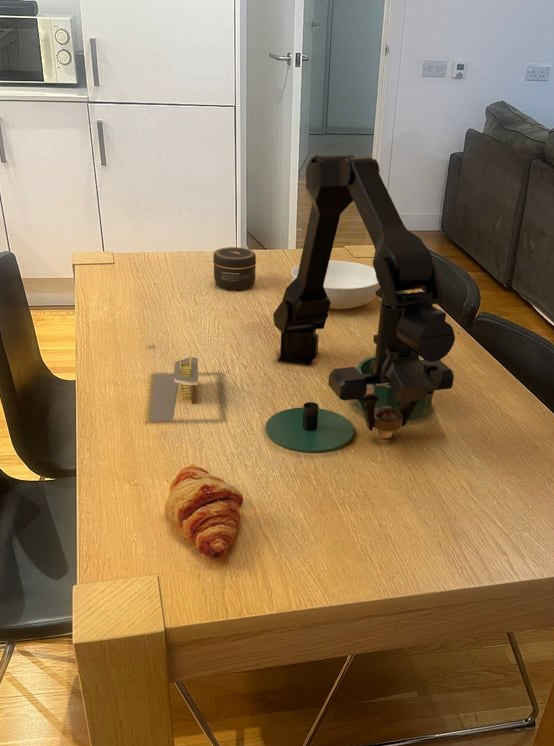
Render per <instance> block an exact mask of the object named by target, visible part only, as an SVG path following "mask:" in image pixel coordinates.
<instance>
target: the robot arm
mask: <svg viewBox="0 0 554 746" xmlns="http://www.w3.org/2000/svg"><path fill="white" fill-rule="evenodd" d="M305 191H306V192H307V195H308V197H309V199H310V202H311V207H310V213H309V216H308V223H307V227H306V232H305V237H304V241H303V245H302V252H301V256H300V261H299V264H300V266H299V271H298V276H297V278H296V279H295V280H294V281H293V282H292V281H291V283H289V285H287V286H286V288H285V290H284V294H283V296H282V300H281V302H280V304H279V305H278V306H277V307H276V309H275V311H274V312H273V314H272V316H273V317H272V319H273V324H274V327H275V328H277V329H278V330H279V331H280V353H279V356H278V357H277V361H278V362H280V363H282V362H283V363H289V364H296V365H306V366H311V365H312V364H313V361H314V360H315V359H316V358H317V356H318V354H319V338H320V337H319V333H317V330H324V329H325V325H326V322H327V318H329V311H330V308H329V307H330V304H331V302H330V300H329V298H328V296H327V294H326V291H325V289H324V281H325V277H326V273H327V269H328V264H329V260H331V255H332V251H333V248H334V243H335V239H336V235H337V230H338V226H339V221H340V218H341V215H342V213H343V212H344V211H345V210H346V209H347V208H348V207H349V206H350V204H352V202H353V203H354V204H355V207H356V209H357V212H358V213H359V216H360V218H361V220H362V222H363V224H364V227H365V229H366V231H367V233H368V235H369V238H370V239H371V242H372V245H373V247H374V254H373V260H372V267H373V268H374V269H375V272H376V278H377V281H378V283H379V285H380V288H379V289H378V290H377V291H376V292H375V294H376V296H375V297H377V298H379V299H380V309H379V317H378V326H377V334H373V343H374V344H375V345H376V347H375V355H374V356H375V360H371V367H372V368H373V370H374V373H370V374H360V373H359V371H358V370H357V369H356V367H355V366H347V367H335V368H333V369H332V370H331V371H330V373H329V374H328V382H327V385H328V386H329V388H330V389H331V390H332V391H333V392H334V394H335V395H336V397H338V399H339V400H341V401H354V399H357V400H358V401H359V402H360V405H361V408H362V411H363V412H362V411H361V412H362V414H363V418H364V421H365V424H366V427H367V429H368V430H369V431H370V432H371V431H373V429H374V427H373V425H374V413H375V403H376V402H377V401H378V400H379V398H378V397H377V396H376V395H375V394H374V391H375V386H380V385H390V387H391V389H392V391H393V393H394V397H395V399H396V400H397V401H398V402H400V407H399V411H400V412H401V413H402V414H403V421H402V426H401V428H402V427H405V426H406V424H407V422H408V421H409V420H408V419H409V417H410V415H411V413H412V411H413V410H414V408H415V406H416V405H417V403H418V402H419V401H422V400H424V399H425V397H426V396H427V395H431V394H433V395H434V392H435V391H441V390H449V389H452V388H453V386H454V381H455V375H454V374H455V373H454V371H453V370H452V369H451V368H450V367H448V365H446V363H444V361H442V359H444V358H445V357H446V356H447V355H448V354H449V353H450V352H451V351H452V349H453V347H454V344H455V341H456V336H455V331H454V328H453V326H452V325H451V324H450V323H449V322H447V321H446V319H447V313H446V312H445V311H444V310H442V309H438V308H436V307H434V306H433V305H439V304H440V305H441V304H443V297H442V291H443V289H442V286H441V282H440V280H439V277H438V273H437V269H436V264H435V261H434V258H433V255H432V253H431V252H430V250H429V248H428V247H427V246H426V244H425V243H424V241H423V240H422V239H421V237H419V236H418V235H416V234H414V233H413V232H411V231H410V230H408V229H407V227H406V226H405V224H404V222H403V219H402V218H401V216H400V214H399V212H398V210H397V208H396V206H395V204H394V201H393V200H392V197H391V194H390V193H389V191H388V189H387V187H386V185H385V182H384V180H383V179H382V177H381V174H380V165H379V162H378V161H377V159H376V158H373V157H370V156H362V157H360V156H359V157H355V155H353V154H352V153H347V154H346V153H343V154H342V153H341V154H320V155H319V154H316V155H314V156H313V157H310V159H309V161H308V164H307V165H306V168H305ZM423 289H425V290H424V291H416V292H406V291H414V290H423ZM420 358H422V359H420Z"/></svg>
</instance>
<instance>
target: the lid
mask: <svg viewBox="0 0 554 746" xmlns="http://www.w3.org/2000/svg"><path fill="white" fill-rule="evenodd" d="M319 406H320V405H319V404H318V403H316V402H313V401H307V402H305V403H304V404H303V407H302V406H301V407H292V408H288V409H284V410H281V411H279V412H276V413H275V414H273V415H271V416H270V417H269V418H268V419H267V421H266V424H265V434H266V436H267V437H268V438H269V439H270V440H271V441H272V442H273V443H275V444H276V445H278V446H280V447H282V448H284V449H287V450H289V451H295V452H299V453H307V454H309V453H310V454H318V453H319V454H320V453H327V452H332V451H336V450H338V449H341V448H343V447H345V446H346V445H348V444H349V443H350V442H351V441H352V439H353V438H354V432H355V429H354V426H353V424H352V423H351V421H350V420H349V419H347V418H346V417H345V416H343V415H342V414H340V413H337V412H335V411H332V410H328V409H326V408H325V409H324V408H319Z"/></svg>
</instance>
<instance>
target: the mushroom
mask: <svg viewBox="0 0 554 746" xmlns="http://www.w3.org/2000/svg"><path fill="white" fill-rule="evenodd" d="M402 421H403V414H402V413H401V412H400V411H398V410H396V409H394V408H393V407H391V406H382V407H378V408H375V413H374V425H373V429H375V430H376V431H375V434H376V436H377V437H379V438H380V439H381V438H382V439H390V438H392V436H393V432H395V431H398V430H400V429H402V427H401V426H402Z"/></svg>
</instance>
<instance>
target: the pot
mask: <svg viewBox="0 0 554 746" xmlns="http://www.w3.org/2000/svg"><path fill="white" fill-rule="evenodd" d="M371 360H375V355H374V356H370V357H366V358H365V359H362V360H360V361H359V362H358V364H357V366H356V367H355V368H356V369H357V370H358V371H359V373H360V374H370V373H374V370H373V368H372V367H371ZM374 394H375V395H376V396H377V397H378V398H379V400H378V401H377V402H376V403H375V408H378V407H382V406H391V407H393V408H394V409H396V410H398V411H399V407H400V402H398V401H397V400H396V399H395V397H394V393H393V391H392V389H391V387H390V385H380V386H375V391H374ZM433 398H434V393H433V394H431V395H427V396H426V397H425V399H424V400H422V401H419V402H418V403H417V405H416V406H415V408H414V410H413V411H412V413H411V415H410V417H409V419H408V420H407V421H413V420H416V419H421V418H423V417H425V416H427V414H429V413H430V411H431V408H432V405H433ZM353 403H354V405H355V407H356V408H358V409H359V411H361V412H362V413H363V411H362V408H361V405H360V402H359V401H358V400H357V399H354V400H353Z"/></svg>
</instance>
